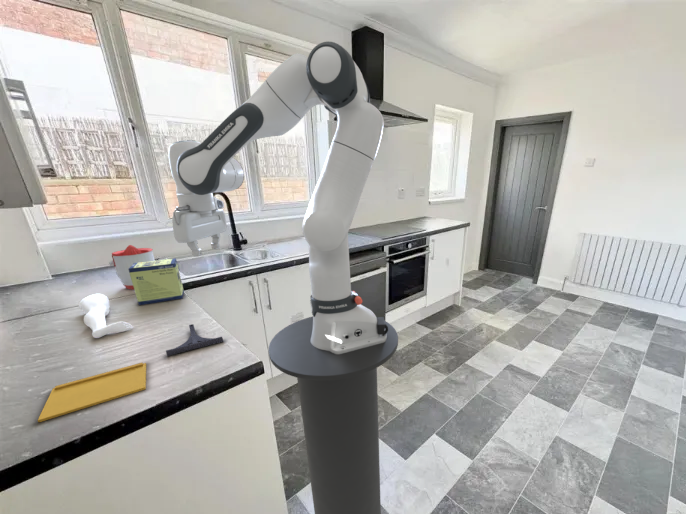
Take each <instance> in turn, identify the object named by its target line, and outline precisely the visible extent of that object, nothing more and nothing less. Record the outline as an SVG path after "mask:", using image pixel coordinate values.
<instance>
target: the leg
mask: <svg viewBox="0 0 686 514" xmlns="http://www.w3.org/2000/svg"><path fill="white" fill-rule="evenodd" d="M109 299H110V298H109V297H108V296H107V295H105V294H103V293H93V294H89V295H87V296H85V297H83V298H82V299H81V300H80V301H79V302H78V305H77V306H78V308H79V309H80V310H82V311H83V313H84V314H85V315H84V316H83V323H84V325H86V326H87V327H89V328H90V330H91V331H92V332H91V336H92V337H93V338H94V339H100V338H102V337H103V336H105V335H108V334H117V333H124V332H126V331H128V330H132V329H133V328H134V326H133V325H132V324H131V323H129V322H126V321H117V322H112V323H111V324H108V325H107V320H106V316H108V315H109V313H110V311H111V310H110V309H111V308H110V300H109Z"/></svg>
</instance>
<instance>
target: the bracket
mask: <svg viewBox="0 0 686 514" xmlns="http://www.w3.org/2000/svg"><path fill="white" fill-rule="evenodd" d="M188 327H189V332H190V336H189V337H188V338H187V340H186V341H185V342H183V343H182V344H180V345H178V346H176V347H174V348H171V349H167V350H165V354H166V356H167V357H170V356H174V355H178V354H181V353H185V352H189V351H192V350H197V349H200V348H204V347H208V346H212V345H216V344H219V343H224V339H223V336H218V337H213V338H211V337H209V338H208V337H202V336H200V335H198V334H196V330H195V325H194V324H189V325H188Z"/></svg>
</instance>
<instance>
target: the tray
mask: <svg viewBox="0 0 686 514" xmlns="http://www.w3.org/2000/svg"><path fill="white" fill-rule="evenodd" d="M146 389H147V362H144V363H143V362H137V363H135V364H132V365H131V364H130V365H127V366H124V367H120V368H117V369H113V370H109V371H106V372H105V371H104V372H102V373H98V374H95V375H91V376H87V377H84V378H81V379H77V380H73V381H69V382H65V383H62V384H58V385H55V386H54V387H52V389H51V392H50V393H49V396H48V398H47V400H46V402H45V404H44V406H43V408H42V411H41V412H40V415H39V416H38V419H37V422H38V423H42V422H45V421H48V420H51V419H55V418H58V417H62V416H64V415H67V414H71V413H74V412H78V411H80V410H84V409H87V408H90V407H93V406H96V405H97V406H98V405H99V404H103V403H106V402H109V401H114V400H116V399H119V398H121V397H125V396H129V395H131V394H135V393H138V392H141V391H144V390H146Z"/></svg>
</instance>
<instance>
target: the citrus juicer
mask: <svg viewBox="0 0 686 514" xmlns="http://www.w3.org/2000/svg"><path fill="white" fill-rule="evenodd" d="M111 258H112V260H110V261H109V262H108V267H112V266H114V269H115V273H116V275H117V277H118V279H119V281H120V282H121V283H122V285H123V286H124V287H125V289H127V290H131V291H135V290H134V287H133V283H132V280H131V277H130V273H129V270H128V269H129V268H130V267H131V266H132V265H133V263H138V262H148V261H156V260H155V259H156V258H155V255H154V252H153V248H151V247H140V248H139V247H138V248H137V247H136V246H134V245H132V244H129V245H128V246H127V247H126V248H125V249H123V250H117V251H114V252H111Z"/></svg>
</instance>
